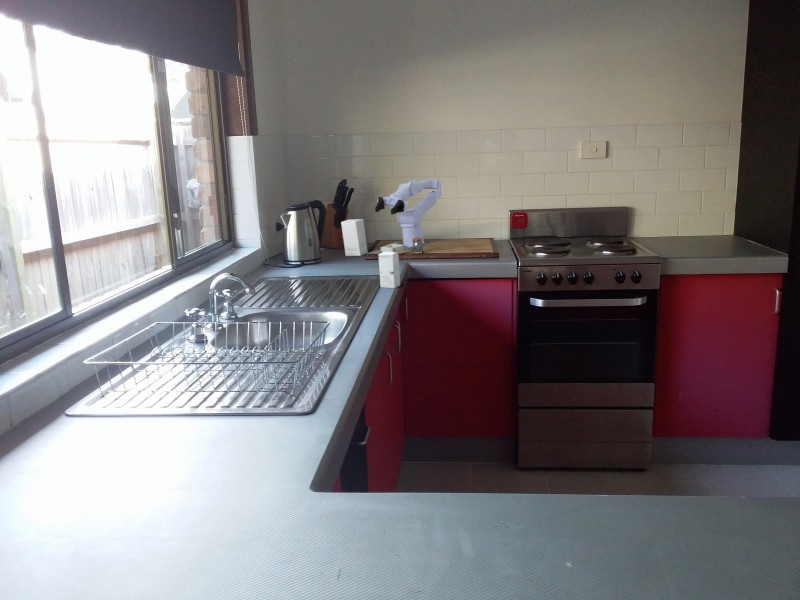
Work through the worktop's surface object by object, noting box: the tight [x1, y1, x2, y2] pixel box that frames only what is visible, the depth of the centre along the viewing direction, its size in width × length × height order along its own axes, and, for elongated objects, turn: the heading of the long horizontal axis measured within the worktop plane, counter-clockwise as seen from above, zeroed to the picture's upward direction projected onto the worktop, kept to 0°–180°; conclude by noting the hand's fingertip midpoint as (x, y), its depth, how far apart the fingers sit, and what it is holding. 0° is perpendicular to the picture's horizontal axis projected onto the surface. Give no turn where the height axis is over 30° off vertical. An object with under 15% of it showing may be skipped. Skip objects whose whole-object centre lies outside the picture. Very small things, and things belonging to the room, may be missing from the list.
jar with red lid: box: [413, 238, 424, 253], centre depth 300 cm, size 4×4×6 cm
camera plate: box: [366, 241, 413, 256], centre depth 307 cm, size 18×14×3 cm
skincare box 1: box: [340, 218, 369, 257], centre depth 308 cm, size 8×7×16 cm
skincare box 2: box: [378, 252, 401, 289], centre depth 244 cm, size 6×4×12 cm
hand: (383, 211), depth 299 cm, fingers open, 7 cm apart
